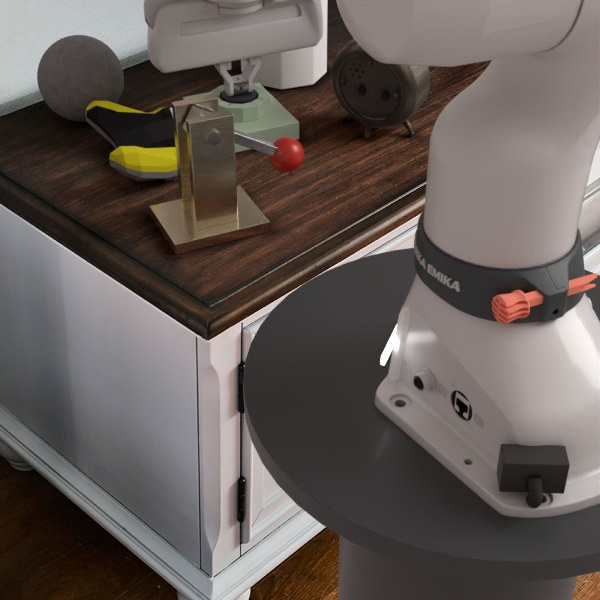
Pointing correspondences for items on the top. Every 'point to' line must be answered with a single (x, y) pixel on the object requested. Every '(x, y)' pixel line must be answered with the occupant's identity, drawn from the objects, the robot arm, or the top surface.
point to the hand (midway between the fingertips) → (238, 92)
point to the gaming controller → (137, 140)
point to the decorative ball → (79, 75)
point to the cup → (294, 64)
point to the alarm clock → (378, 88)
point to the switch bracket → (206, 183)
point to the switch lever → (265, 146)
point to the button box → (258, 116)
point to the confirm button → (239, 98)
